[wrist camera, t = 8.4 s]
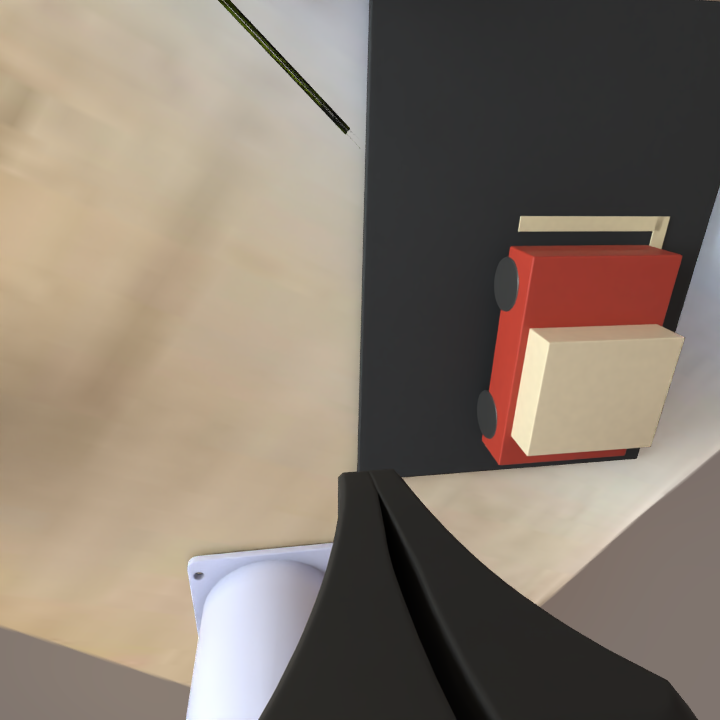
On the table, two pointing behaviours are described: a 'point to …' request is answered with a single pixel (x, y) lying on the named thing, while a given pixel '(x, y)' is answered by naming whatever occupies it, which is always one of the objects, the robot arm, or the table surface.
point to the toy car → (579, 352)
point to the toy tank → (321, 102)
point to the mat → (514, 185)
